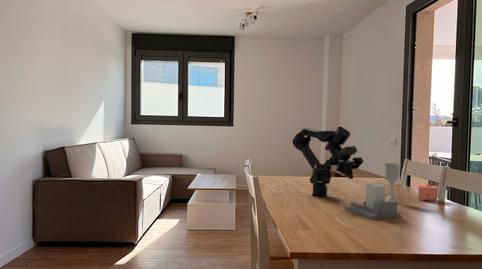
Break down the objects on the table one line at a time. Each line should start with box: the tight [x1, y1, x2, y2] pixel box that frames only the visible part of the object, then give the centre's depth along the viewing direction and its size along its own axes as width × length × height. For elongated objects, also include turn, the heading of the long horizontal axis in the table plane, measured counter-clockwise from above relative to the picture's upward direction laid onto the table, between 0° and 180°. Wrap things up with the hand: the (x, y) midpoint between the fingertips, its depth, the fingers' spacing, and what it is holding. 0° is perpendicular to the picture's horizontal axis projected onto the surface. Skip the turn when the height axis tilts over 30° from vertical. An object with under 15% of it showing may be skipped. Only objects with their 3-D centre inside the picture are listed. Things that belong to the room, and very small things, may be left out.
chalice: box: [383, 162, 402, 203], centre depth 159 cm, size 7×7×18 cm
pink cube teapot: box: [417, 183, 438, 203], centre depth 163 cm, size 8×12×8 cm, turn 149°
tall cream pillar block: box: [365, 183, 386, 208], centre depth 135 cm, size 5×5×10 cm
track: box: [344, 200, 402, 221], centre depth 137 cm, size 16×14×6 cm
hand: (352, 178), depth 148 cm, fingers closed
